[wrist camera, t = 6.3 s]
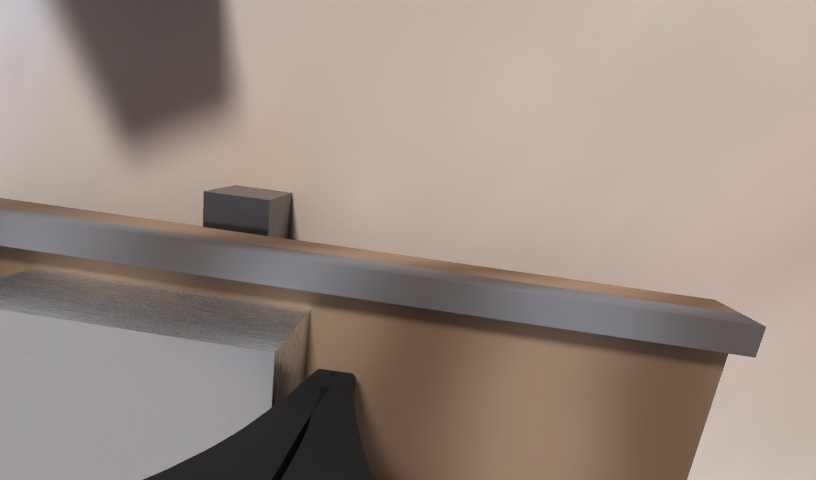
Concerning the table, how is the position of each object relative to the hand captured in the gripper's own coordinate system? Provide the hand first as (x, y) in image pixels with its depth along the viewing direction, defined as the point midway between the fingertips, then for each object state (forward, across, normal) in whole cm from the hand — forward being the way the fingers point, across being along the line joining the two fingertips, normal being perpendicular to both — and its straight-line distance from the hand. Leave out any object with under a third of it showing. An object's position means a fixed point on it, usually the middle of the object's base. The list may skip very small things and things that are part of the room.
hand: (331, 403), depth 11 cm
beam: (+1, +4, 0) cm, 4 cm away
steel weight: (+1, +5, 0) cm, 5 cm away
